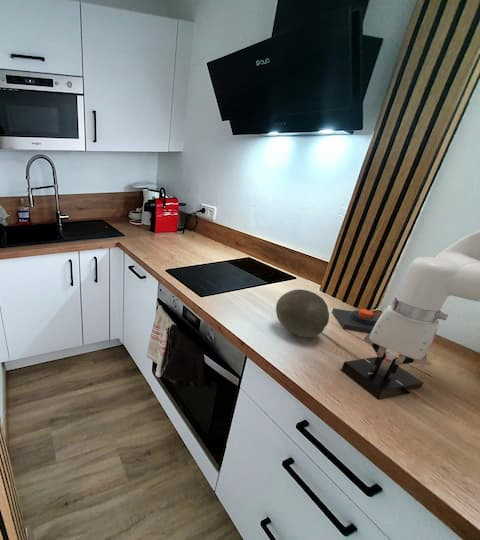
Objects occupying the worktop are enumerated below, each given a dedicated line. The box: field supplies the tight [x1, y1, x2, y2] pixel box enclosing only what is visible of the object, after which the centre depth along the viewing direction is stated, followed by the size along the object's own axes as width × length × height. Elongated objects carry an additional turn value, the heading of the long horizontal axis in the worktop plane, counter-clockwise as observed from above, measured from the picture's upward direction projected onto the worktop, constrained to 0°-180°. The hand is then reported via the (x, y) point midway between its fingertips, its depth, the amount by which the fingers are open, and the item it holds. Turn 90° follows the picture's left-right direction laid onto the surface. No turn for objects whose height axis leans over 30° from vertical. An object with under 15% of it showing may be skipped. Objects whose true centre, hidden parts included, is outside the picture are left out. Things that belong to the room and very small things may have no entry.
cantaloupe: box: [275, 288, 330, 338], centre depth 90 cm, size 14×14×15 cm
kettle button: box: [358, 308, 374, 319], centre depth 95 cm, size 4×4×2 cm
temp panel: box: [340, 356, 425, 400], centre depth 74 cm, size 13×10×3 cm
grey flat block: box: [331, 307, 381, 334], centre depth 96 cm, size 14×11×5 cm
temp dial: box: [377, 352, 397, 377], centre depth 73 cm, size 5×2×5 cm, turn 128°
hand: (383, 370), depth 73 cm, fingers closed, pressing on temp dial
